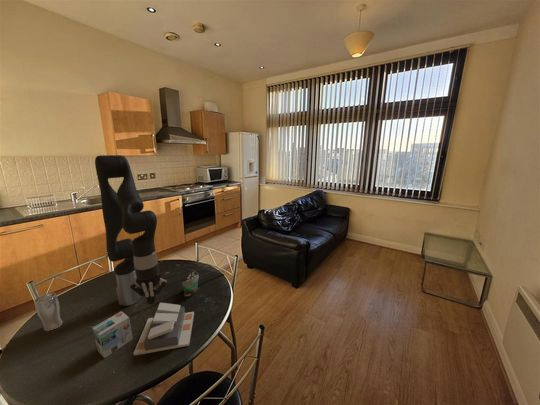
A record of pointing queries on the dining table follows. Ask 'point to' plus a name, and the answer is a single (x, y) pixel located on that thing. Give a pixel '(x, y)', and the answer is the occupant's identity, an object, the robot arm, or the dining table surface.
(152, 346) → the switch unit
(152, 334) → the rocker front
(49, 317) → the beer glass
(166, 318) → the rocker middle
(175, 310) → the rocker back
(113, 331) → the light bulb box
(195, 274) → the food container
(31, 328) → the dining table surface
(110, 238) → the robot arm
